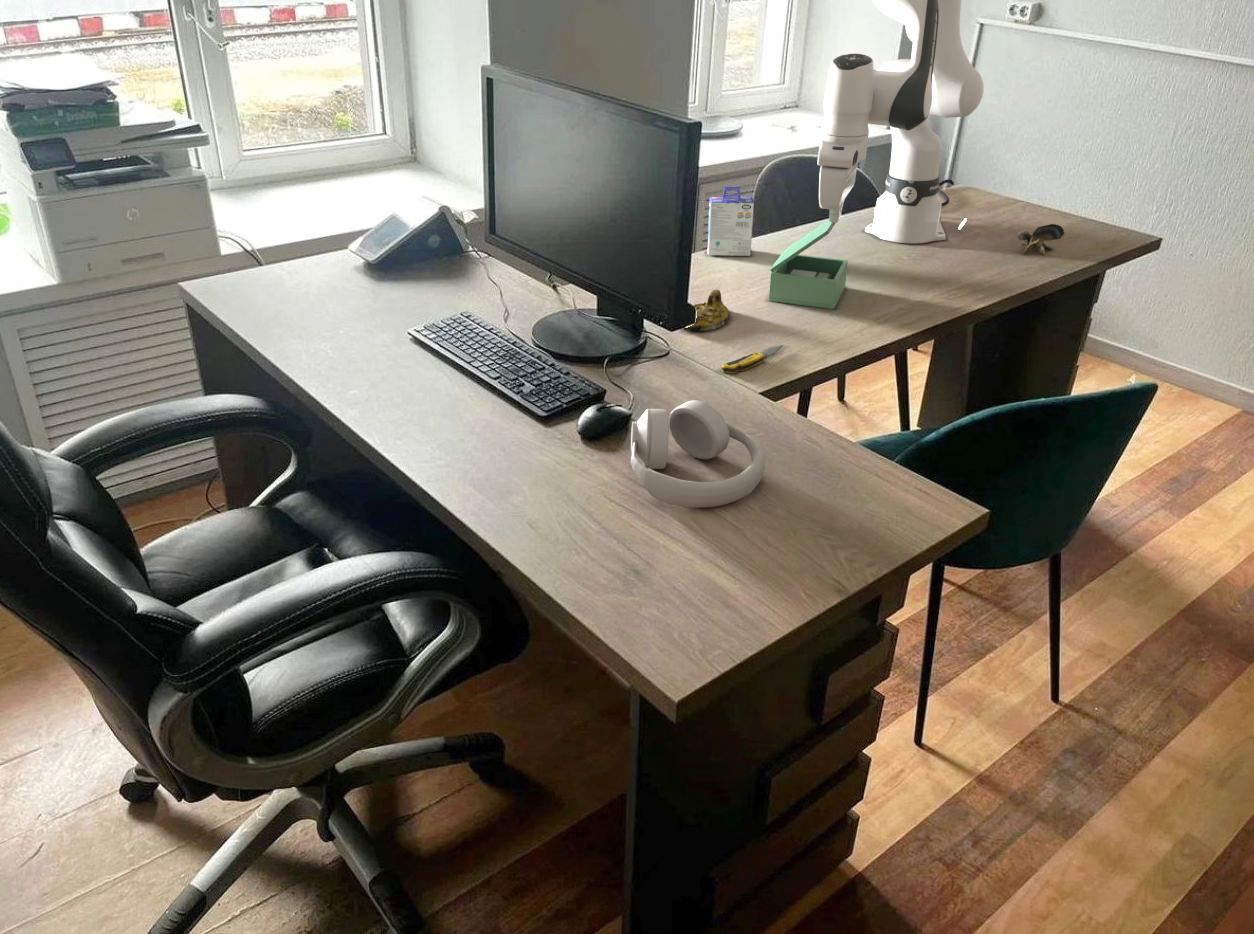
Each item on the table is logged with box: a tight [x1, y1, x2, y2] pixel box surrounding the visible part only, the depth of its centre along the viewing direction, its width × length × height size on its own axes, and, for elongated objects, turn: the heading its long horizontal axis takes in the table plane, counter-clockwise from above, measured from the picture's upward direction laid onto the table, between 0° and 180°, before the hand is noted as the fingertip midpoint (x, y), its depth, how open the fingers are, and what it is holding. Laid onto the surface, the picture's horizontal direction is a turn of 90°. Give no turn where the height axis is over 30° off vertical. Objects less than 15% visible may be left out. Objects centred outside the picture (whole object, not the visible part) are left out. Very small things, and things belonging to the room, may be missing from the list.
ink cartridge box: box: [706, 186, 755, 257], centre depth 224 cm, size 10×6×14 cm, turn 89°
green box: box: [768, 254, 849, 310], centre depth 203 cm, size 13×14×6 cm
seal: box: [682, 289, 731, 332], centre depth 190 cm, size 9×5×15 cm
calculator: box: [788, 269, 832, 279], centre depth 203 cm, size 8×5×3 cm, turn 70°
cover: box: [769, 218, 836, 273], centre depth 199 cm, size 14×14×1 cm
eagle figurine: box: [1016, 223, 1065, 256], centre depth 228 cm, size 8×7×9 cm
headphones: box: [630, 399, 766, 509], centre depth 139 cm, size 18×8×20 cm
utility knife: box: [721, 344, 784, 374], centre depth 175 cm, size 16×1×3 cm
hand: (834, 220), depth 195 cm, fingers closed
